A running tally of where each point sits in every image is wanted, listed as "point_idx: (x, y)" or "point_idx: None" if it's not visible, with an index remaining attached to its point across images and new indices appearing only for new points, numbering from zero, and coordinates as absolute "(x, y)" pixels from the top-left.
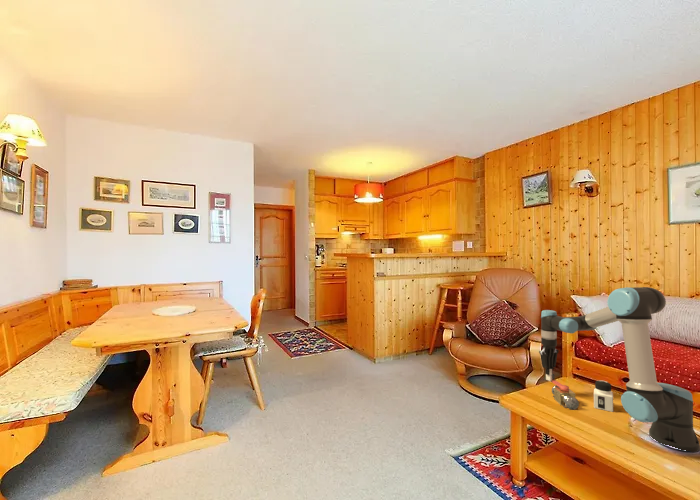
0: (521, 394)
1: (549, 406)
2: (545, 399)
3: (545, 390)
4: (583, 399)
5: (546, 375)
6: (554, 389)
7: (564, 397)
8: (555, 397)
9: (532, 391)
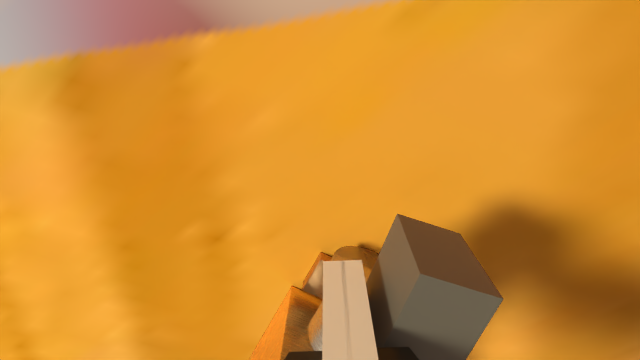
0: (65, 110)
1: (149, 348)
2: (216, 262)
3: (396, 117)
4: (517, 353)
5: (324, 315)
6: (279, 357)
7: None
8: (280, 317)
9: (237, 90)
